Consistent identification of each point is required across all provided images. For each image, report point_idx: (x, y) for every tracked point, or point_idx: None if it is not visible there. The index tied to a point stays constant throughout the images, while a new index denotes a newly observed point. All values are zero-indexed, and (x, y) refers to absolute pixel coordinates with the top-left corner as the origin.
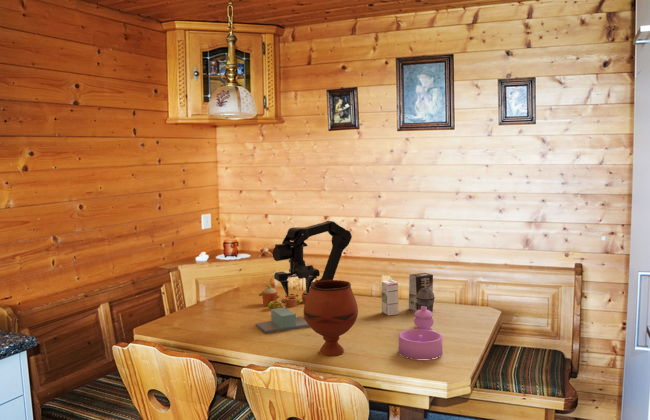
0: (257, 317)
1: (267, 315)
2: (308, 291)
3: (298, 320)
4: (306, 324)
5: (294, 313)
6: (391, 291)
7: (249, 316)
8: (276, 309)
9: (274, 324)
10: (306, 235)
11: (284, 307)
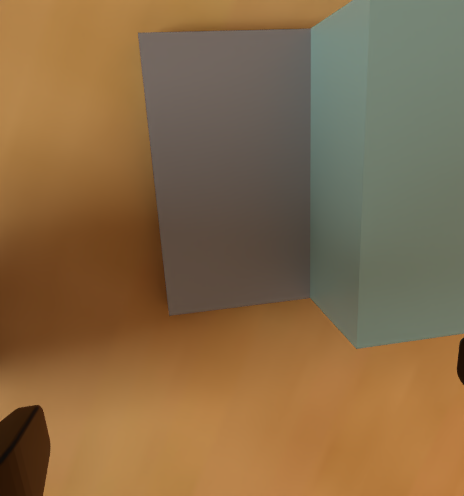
0: (422, 446)
1: (348, 471)
2: (3, 425)
3: (219, 204)
4: (195, 35)
5: (370, 34)
6: None
7: (454, 479)
8: (460, 298)
9: None
10: None
11: (358, 343)
